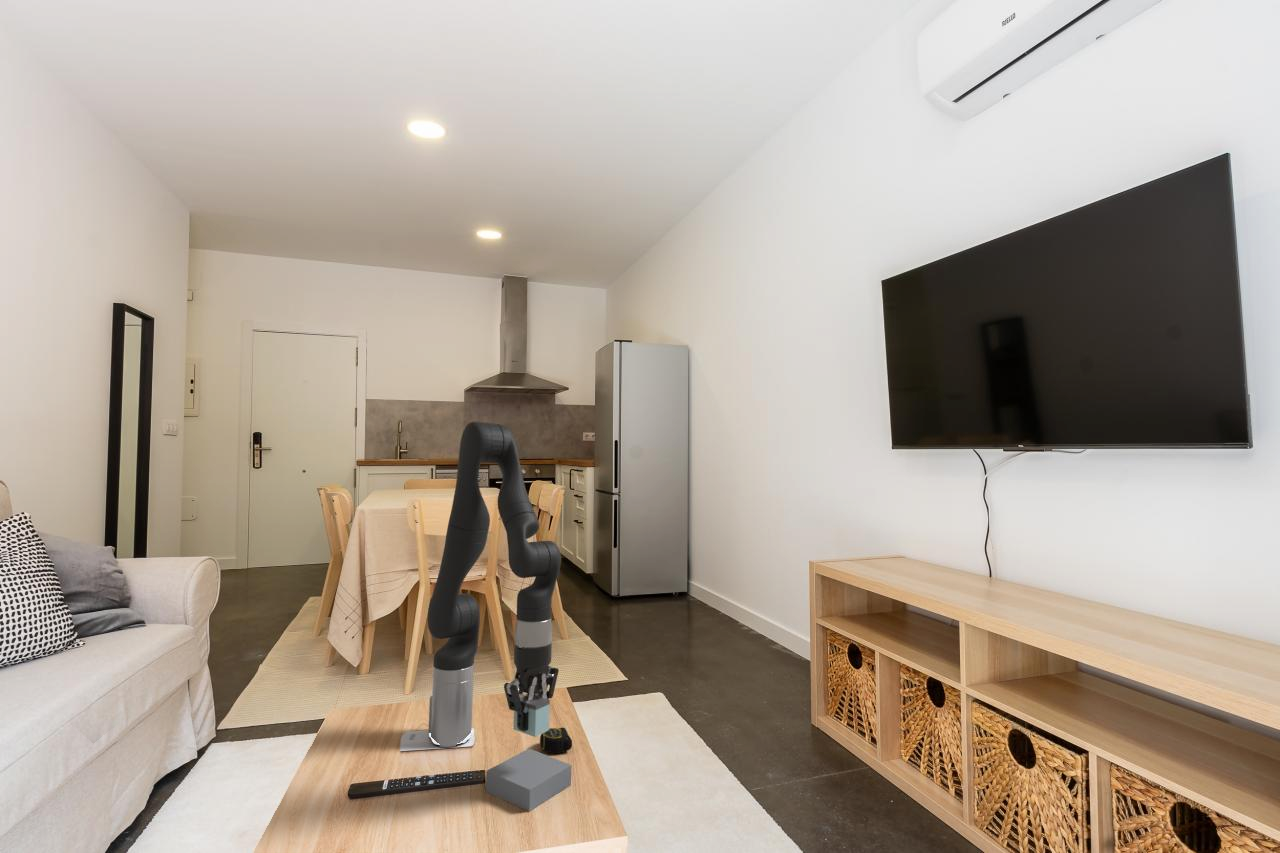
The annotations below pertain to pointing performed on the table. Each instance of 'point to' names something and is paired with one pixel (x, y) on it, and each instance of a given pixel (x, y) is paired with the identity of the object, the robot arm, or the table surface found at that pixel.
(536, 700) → the block
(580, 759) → the table surface
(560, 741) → the tape measure
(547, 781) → the stand
